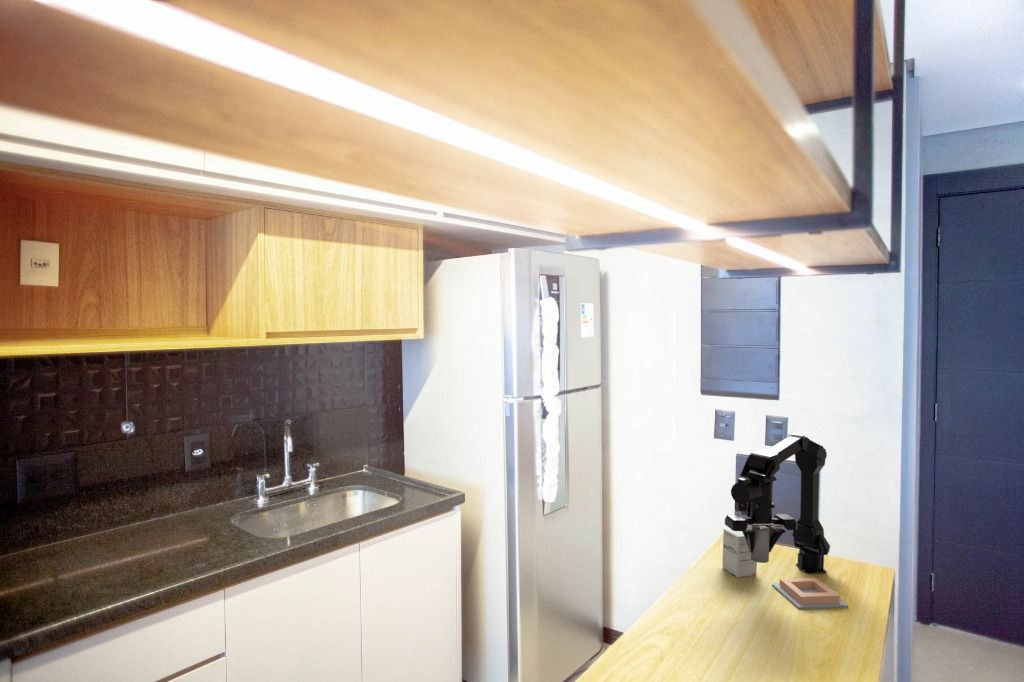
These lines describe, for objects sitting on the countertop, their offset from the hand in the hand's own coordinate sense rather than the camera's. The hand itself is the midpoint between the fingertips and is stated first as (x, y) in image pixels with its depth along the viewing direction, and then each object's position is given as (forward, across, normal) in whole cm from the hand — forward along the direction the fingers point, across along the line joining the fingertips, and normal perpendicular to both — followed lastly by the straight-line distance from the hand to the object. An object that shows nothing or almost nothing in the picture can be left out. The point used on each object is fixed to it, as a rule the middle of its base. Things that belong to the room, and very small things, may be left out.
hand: (759, 552), depth 170 cm
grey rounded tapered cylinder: (+2, 0, 0) cm, 2 cm away
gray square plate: (+12, -13, +3) cm, 18 cm away
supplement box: (+12, -1, -14) cm, 18 cm away
